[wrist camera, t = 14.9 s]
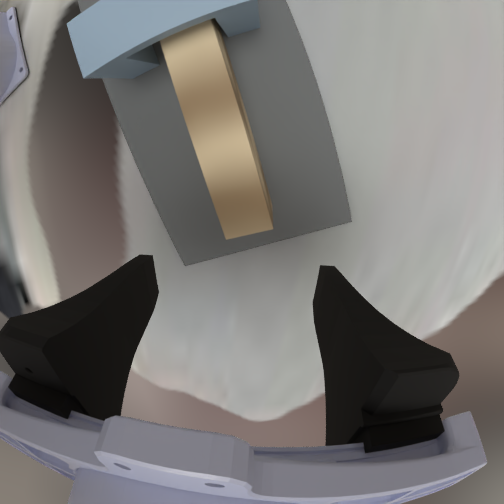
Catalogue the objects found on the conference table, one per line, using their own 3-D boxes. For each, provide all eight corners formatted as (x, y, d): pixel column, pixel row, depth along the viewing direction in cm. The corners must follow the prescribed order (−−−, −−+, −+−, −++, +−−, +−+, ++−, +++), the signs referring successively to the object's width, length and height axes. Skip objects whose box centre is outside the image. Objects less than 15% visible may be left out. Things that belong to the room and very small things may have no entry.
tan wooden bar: (165, 3, 14) (143, -13, 10) (206, -12, 13) (192, -33, 10) (232, 214, 22) (225, 240, 18) (272, 205, 21) (273, 230, 18)
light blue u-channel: (117, 35, 15) (66, 23, 9) (240, -18, 13) (230, -58, 7) (133, 78, 17) (83, 78, 11) (260, 27, 15) (257, -2, 9)
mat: (62, -81, 6) (60, -82, 6) (196, -143, 3) (195, -145, 3) (186, 263, 25) (184, 266, 24) (350, 219, 22) (351, 221, 21)
